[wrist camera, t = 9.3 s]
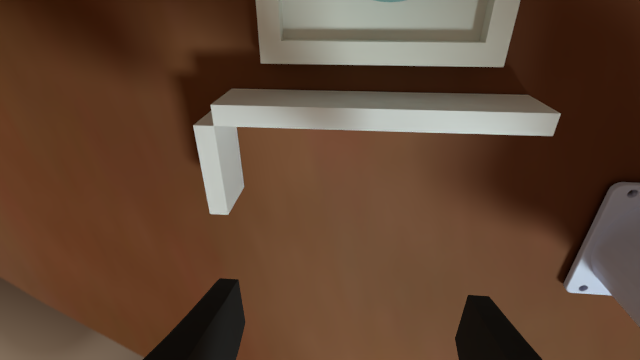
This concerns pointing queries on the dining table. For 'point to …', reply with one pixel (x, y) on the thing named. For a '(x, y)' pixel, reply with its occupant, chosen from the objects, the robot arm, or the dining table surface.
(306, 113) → the wall
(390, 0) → the ball
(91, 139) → the dining table surface
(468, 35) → the white tray
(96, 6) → the dining table surface
